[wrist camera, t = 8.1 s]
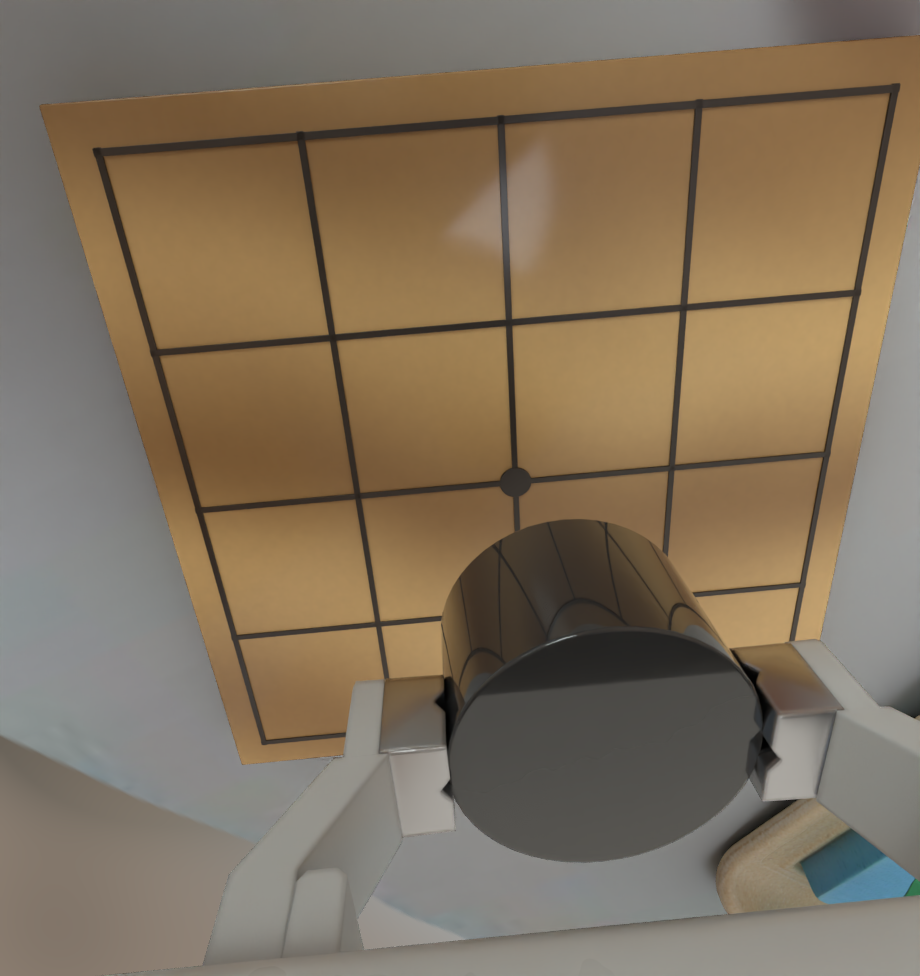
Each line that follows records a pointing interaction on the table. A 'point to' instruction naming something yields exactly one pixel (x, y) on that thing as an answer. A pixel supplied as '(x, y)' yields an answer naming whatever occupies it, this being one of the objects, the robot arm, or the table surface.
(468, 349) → the go board
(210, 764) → the table surface
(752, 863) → the puzzle board
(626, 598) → the black stone
